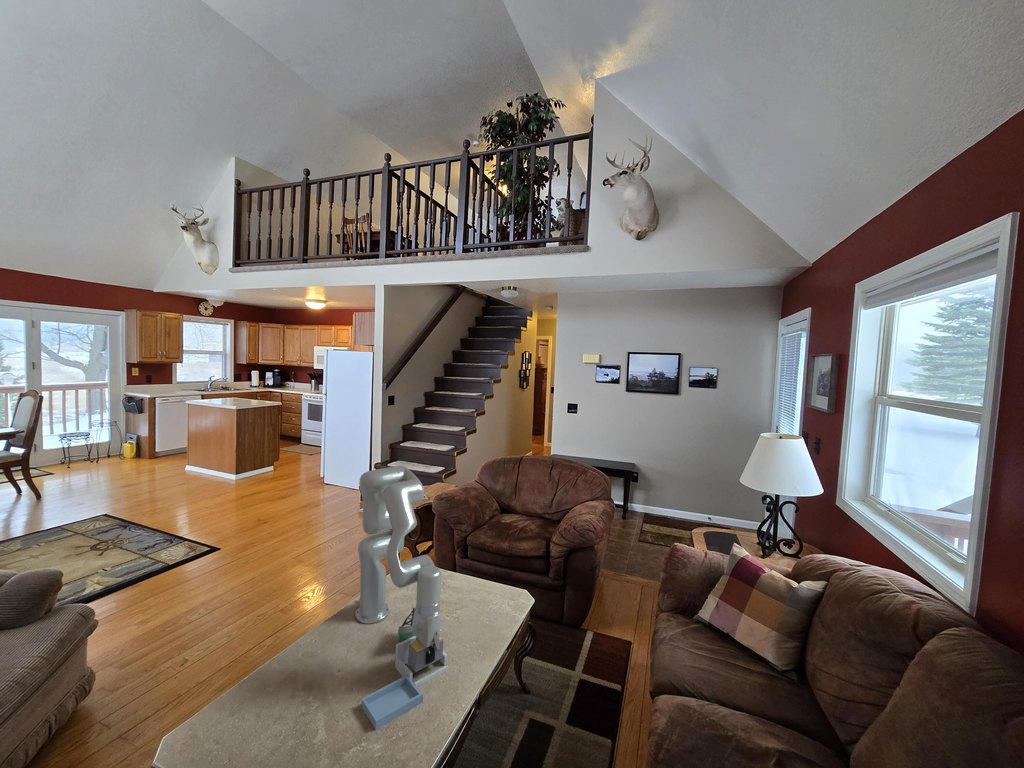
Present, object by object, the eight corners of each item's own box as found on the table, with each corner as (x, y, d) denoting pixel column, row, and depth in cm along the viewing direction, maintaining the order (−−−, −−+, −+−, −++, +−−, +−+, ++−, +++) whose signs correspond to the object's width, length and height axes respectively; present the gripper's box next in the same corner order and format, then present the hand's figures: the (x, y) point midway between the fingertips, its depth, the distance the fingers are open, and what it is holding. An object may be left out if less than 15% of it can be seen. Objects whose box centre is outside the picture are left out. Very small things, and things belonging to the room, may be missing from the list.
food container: (414, 658, 148) (414, 630, 147) (397, 654, 150) (398, 627, 149) (428, 634, 160) (428, 609, 159) (412, 631, 162) (413, 606, 161)
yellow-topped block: (407, 662, 141) (408, 642, 141) (434, 649, 148) (435, 630, 147) (415, 672, 138) (416, 651, 137) (442, 657, 144) (443, 638, 144)
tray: (361, 706, 128) (361, 698, 128) (406, 682, 138) (407, 674, 138) (375, 730, 121) (376, 721, 120) (422, 702, 131) (423, 694, 130)
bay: (395, 667, 144) (395, 644, 143) (431, 648, 153) (432, 627, 152) (412, 689, 135) (413, 665, 134) (450, 668, 145) (451, 645, 144)
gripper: (404, 596, 144) (402, 646, 147) (431, 624, 132) (429, 678, 134) (424, 588, 149) (422, 637, 152) (452, 614, 137) (449, 667, 139)
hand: (425, 656), depth 143 cm, fingers closed on yellow-topped block, 5 cm apart
